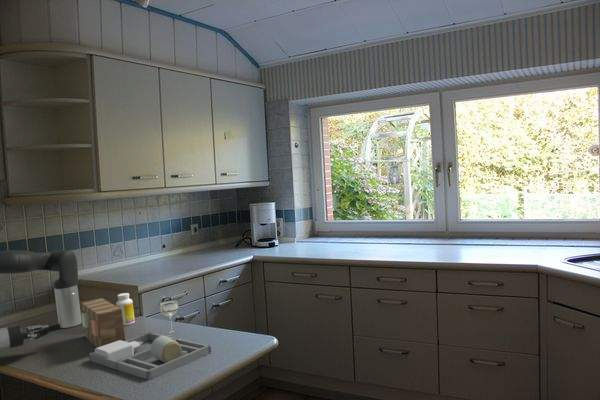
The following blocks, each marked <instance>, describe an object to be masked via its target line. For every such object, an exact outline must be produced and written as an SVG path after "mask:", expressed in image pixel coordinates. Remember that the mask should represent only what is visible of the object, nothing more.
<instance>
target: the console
mask: <svg viewBox="0 0 600 400" xmlns="http://www.w3.org/2000/svg"><path fill="white" fill-rule="evenodd" d="M80 307H81V313H84V312H86V313H87V316H88V325H89V328H85V327H84V326H83V328H84V338H86V339H87V340H88V341H89V342H90V343H91V344H93V345H94V346H95V347H96V348H98V347H101V346H104V345H107V344H110V343H113V342H116V341H119V340H121V341H126V337H125V328H124V327H125V326H123V318H122V309H120V308H119V307H117V306H116V305H115V304H113V303H111V302H110V301H108V300H106V299H104V298H102V297H100V298H96V299H91V300H86V301H82V302H80ZM91 320H96V321H97V322H98V330H99V336H97V337H95V336H94V335H93V334H92V326H91Z"/></svg>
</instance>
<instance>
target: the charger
mask: <svg viewBox="0 0 600 400" xmlns="http://www.w3.org/2000/svg"><path fill="white" fill-rule="evenodd" d="M125 341H126V340H125ZM125 341H121V340H119V341H116V342H113V343H110V344H107V345H104V346H101V347H98V348H97V347H96V348H94V352H95V354H98V355H101V356H104V357H108V358H111V359H114V360H117V361H119V360H122V359H124V358H127V357H130V356H132V355H135V350H137V349H139V348H141V345H143V343H144V342H141V343H140V342H136V341H132V342H130V343H129V342H125Z"/></svg>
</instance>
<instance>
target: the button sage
mask: <svg viewBox="0 0 600 400" xmlns="http://www.w3.org/2000/svg"><path fill="white" fill-rule="evenodd" d="M81 321H82V323H81V324H82V327H83V328H84V327H85V328H89V325H88V316H87V313H86V312H84V313H82V312H81Z"/></svg>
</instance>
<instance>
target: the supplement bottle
mask: <svg viewBox="0 0 600 400" xmlns="http://www.w3.org/2000/svg"><path fill="white" fill-rule="evenodd" d="M117 299H118V300H117V301H116V303H115V304H116V305H115V306H117V307H119V308H120V309H122V318H123V326H124V327H127V326H130V325H133V324H135V322H136V318H135V309H134V302H133V299H132V298H130V293H129V292H124V293H123V292H122V293H119V294H117Z"/></svg>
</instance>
